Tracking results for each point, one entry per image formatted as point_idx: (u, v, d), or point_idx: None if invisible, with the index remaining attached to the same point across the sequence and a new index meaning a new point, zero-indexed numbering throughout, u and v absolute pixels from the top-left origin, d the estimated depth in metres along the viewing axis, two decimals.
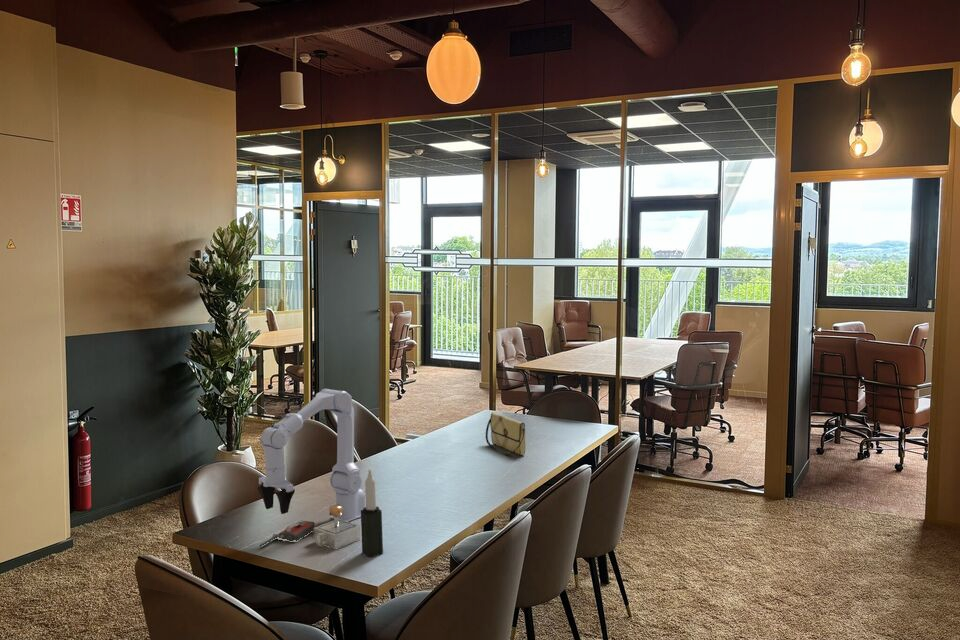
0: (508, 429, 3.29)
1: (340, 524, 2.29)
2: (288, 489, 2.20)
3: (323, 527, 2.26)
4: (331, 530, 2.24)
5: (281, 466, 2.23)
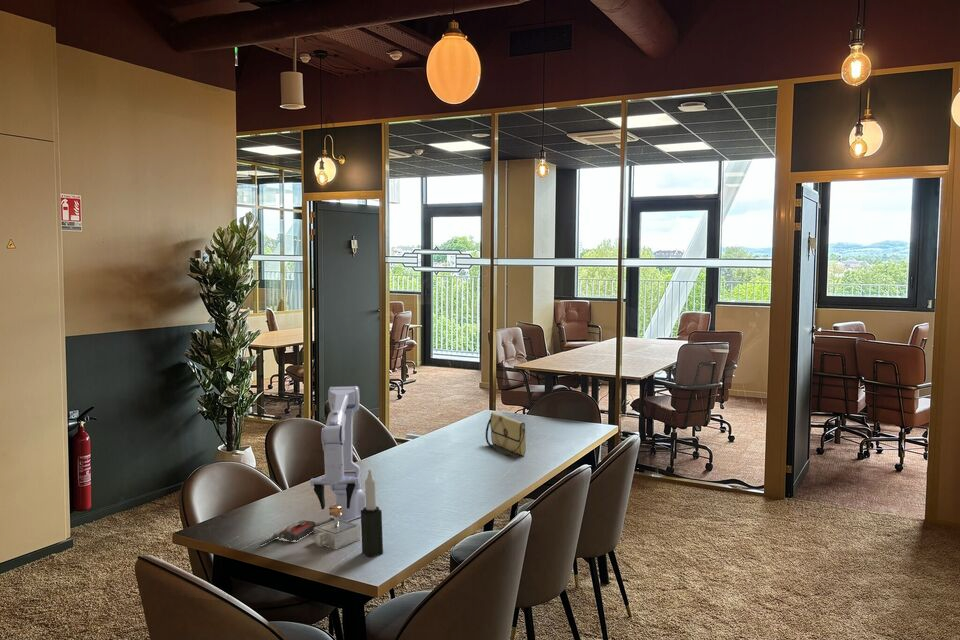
0: (508, 429, 3.29)
1: (340, 524, 2.29)
2: (358, 482, 2.25)
3: (323, 527, 2.26)
4: (331, 530, 2.24)
5: (343, 462, 2.26)
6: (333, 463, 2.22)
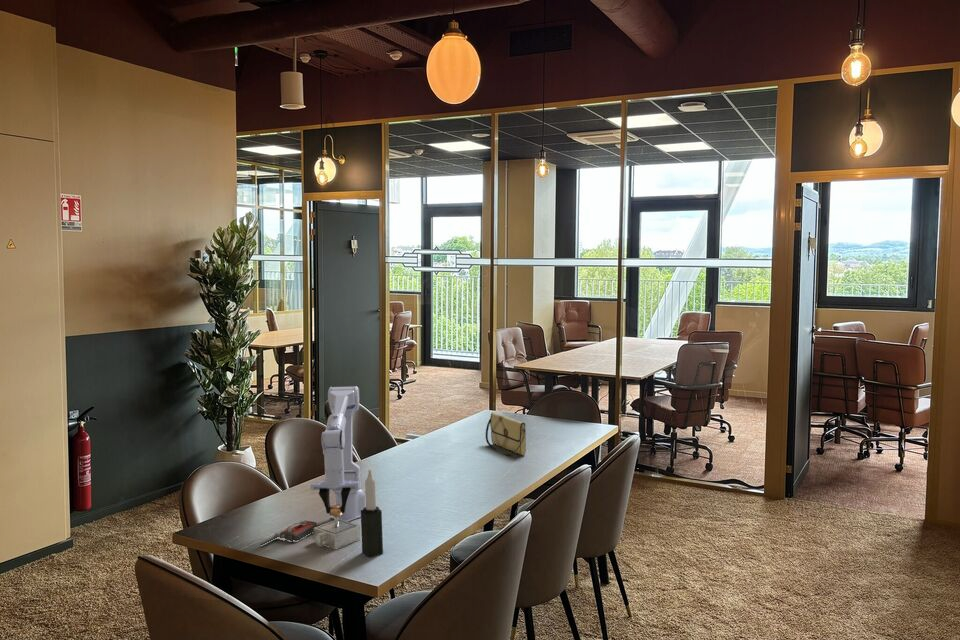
0: (508, 429, 3.29)
1: (340, 524, 2.29)
2: (358, 486, 2.25)
3: (323, 527, 2.26)
4: (331, 530, 2.24)
5: (343, 466, 2.26)
6: (333, 467, 2.22)
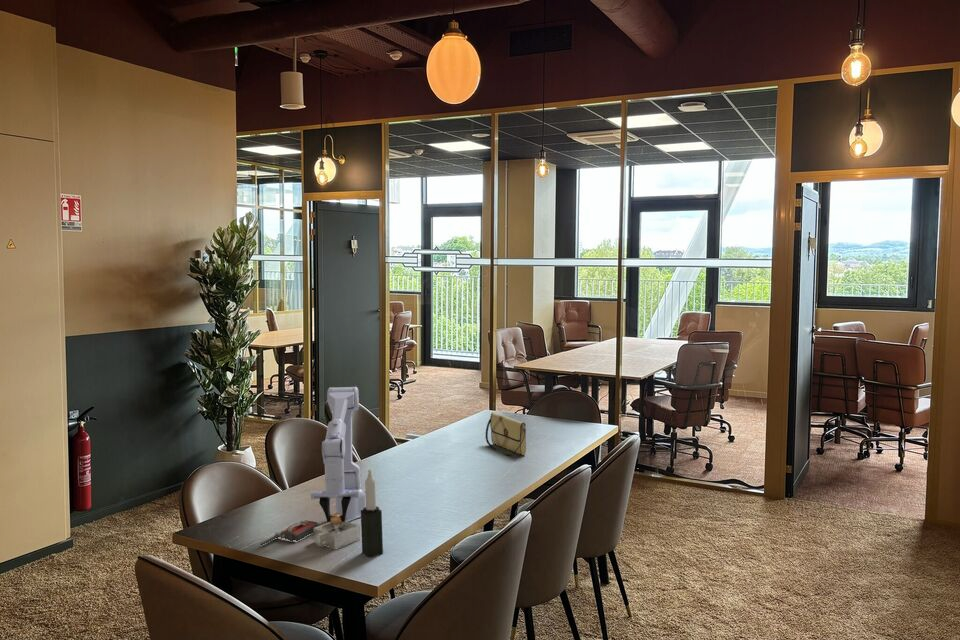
0: (508, 429, 3.29)
1: None
2: (358, 495, 2.25)
3: None
4: None
5: (344, 475, 2.26)
6: (333, 476, 2.23)
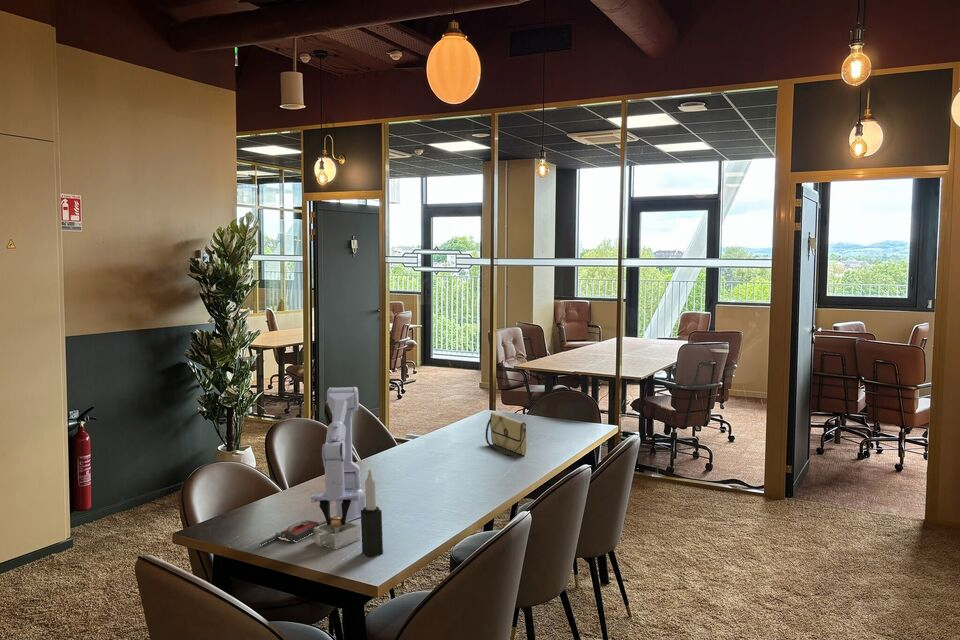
0: (508, 429, 3.29)
1: None
2: (358, 498, 2.25)
3: None
4: None
5: (344, 478, 2.26)
6: (334, 480, 2.23)
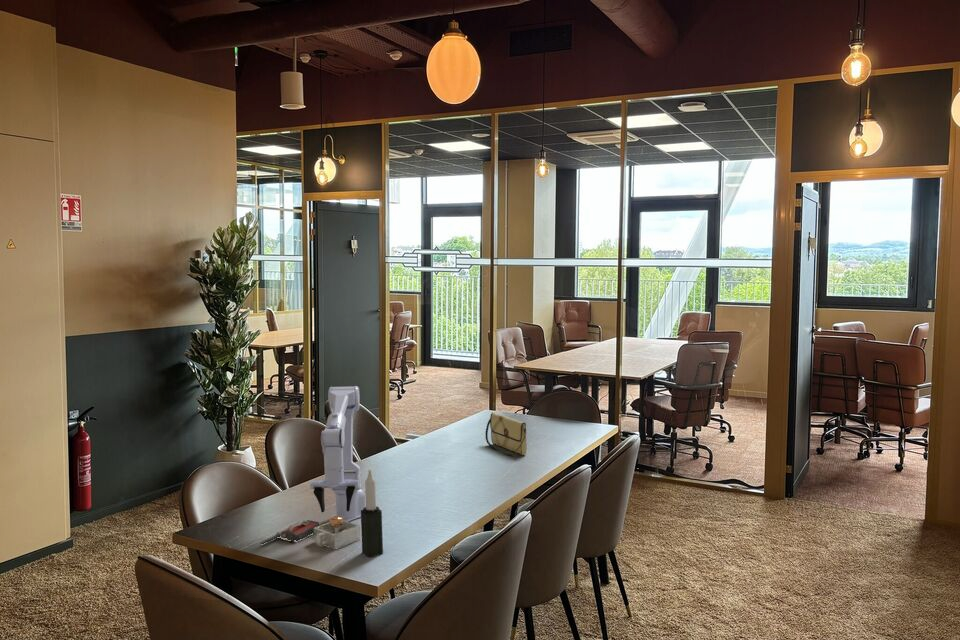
0: (509, 429, 3.29)
1: None
2: (357, 485, 2.26)
3: None
4: None
5: None
6: (333, 466, 2.23)
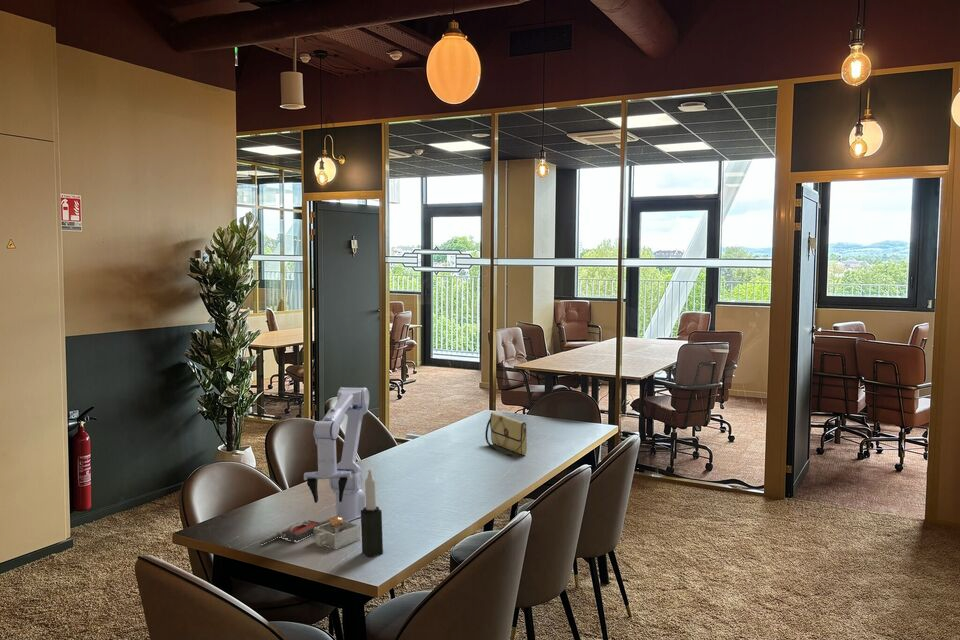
0: (509, 429, 3.29)
1: None
2: (350, 476, 2.32)
3: None
4: None
5: (335, 457, 2.32)
6: (324, 457, 2.29)
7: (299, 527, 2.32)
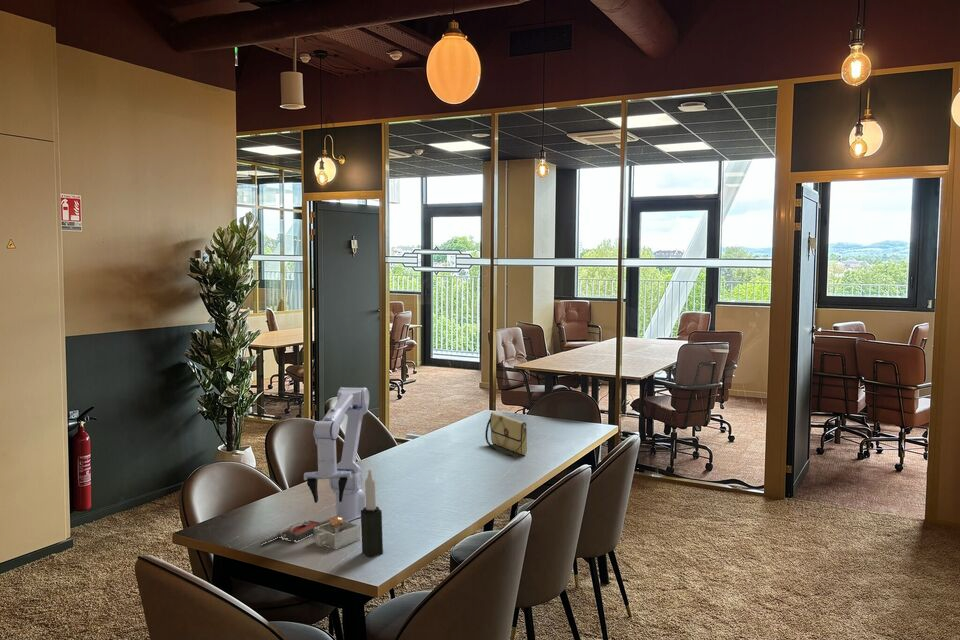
0: (509, 429, 3.29)
1: None
2: (350, 476, 2.32)
3: None
4: None
5: (335, 457, 2.32)
6: (324, 457, 2.29)
7: (299, 527, 2.32)
